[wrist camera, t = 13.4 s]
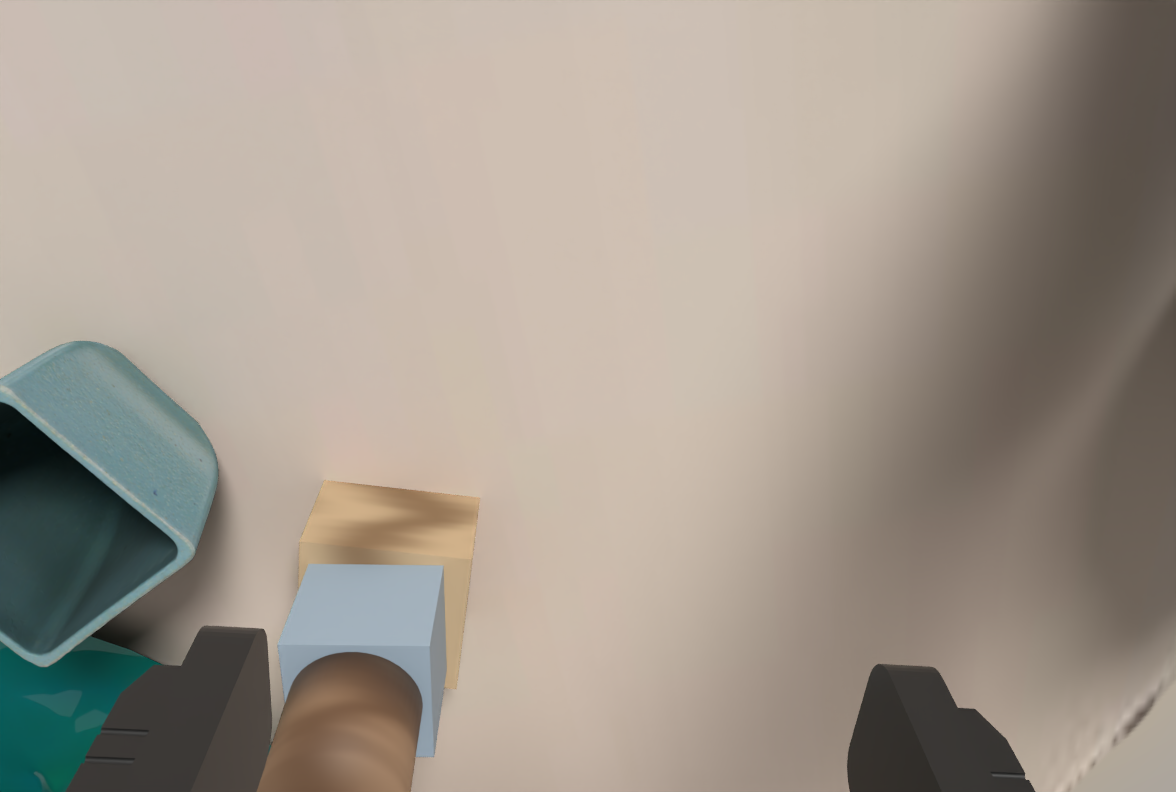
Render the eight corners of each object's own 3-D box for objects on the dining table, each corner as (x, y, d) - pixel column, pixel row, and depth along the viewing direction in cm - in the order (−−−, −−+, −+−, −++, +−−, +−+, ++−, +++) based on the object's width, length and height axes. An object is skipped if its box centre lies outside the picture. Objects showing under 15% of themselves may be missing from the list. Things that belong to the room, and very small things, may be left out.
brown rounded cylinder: (425, 655, 36) (409, 758, 31) (419, 757, 38) (404, 867, 33) (287, 647, 35) (250, 751, 31) (289, 750, 38) (255, 862, 33)
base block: (480, 495, 45) (472, 559, 40) (465, 616, 48) (456, 689, 43) (325, 478, 44) (299, 541, 39) (320, 602, 47) (295, 674, 42)
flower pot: (132, 540, 45) (40, 676, 37) (-30, 406, 42) (-170, 523, 34) (267, 434, 43) (200, 554, 35) (108, 285, 39) (-7, 379, 31)
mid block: (443, 565, 40) (429, 645, 36) (446, 669, 43) (434, 757, 38) (308, 563, 40) (277, 644, 35) (319, 668, 42) (291, 756, 38)
